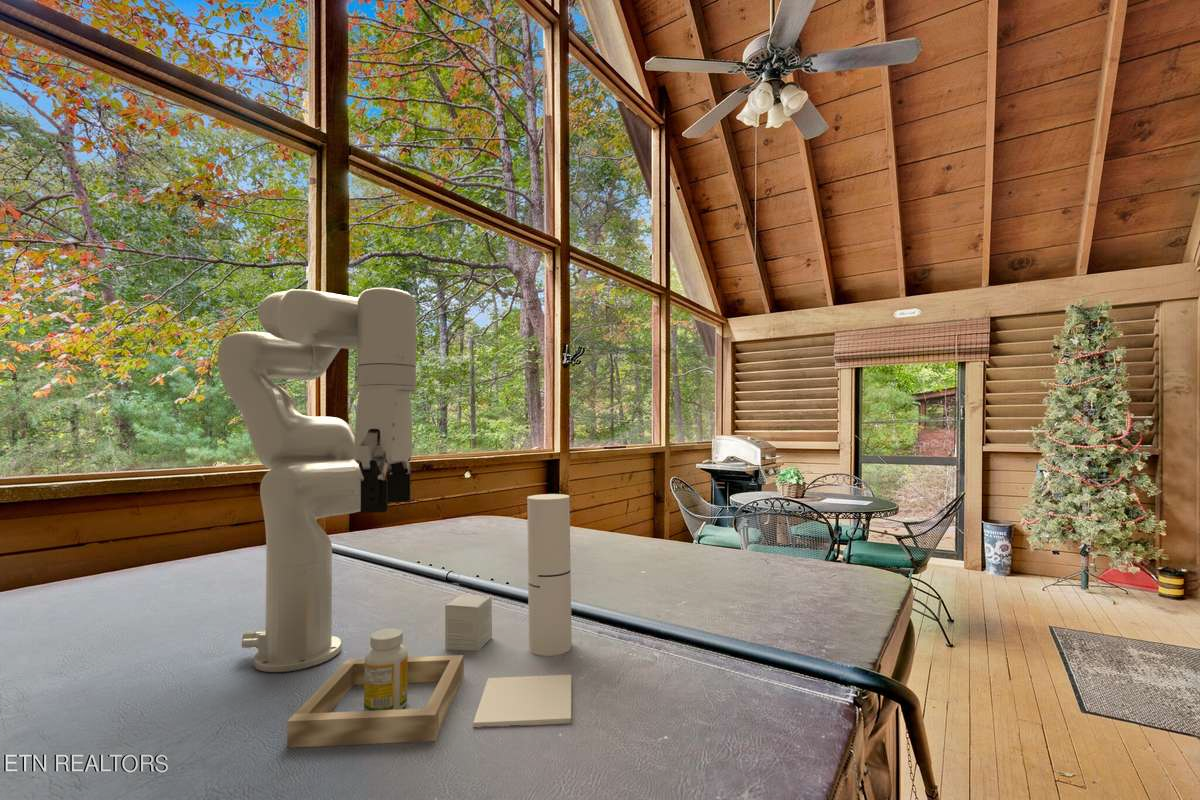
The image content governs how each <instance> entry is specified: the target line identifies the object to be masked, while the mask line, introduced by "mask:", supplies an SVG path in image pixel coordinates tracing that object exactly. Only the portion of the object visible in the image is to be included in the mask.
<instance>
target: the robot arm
mask: <svg viewBox="0 0 1200 800" xmlns="http://www.w3.org/2000/svg"><path fill="white" fill-rule="evenodd" d="M257 319H258V322H259V323H260V326H261V327H262V328H263V329H264V330H265V331H266V332H262V331H241V332H235V333H232V334H229V335H227V336H226V337H224V338H223V339H222V341H221V342H220V344H219V346H218V349H217V370H218V374H219V378H220V380H221V384H222V385H223V388H224V390H225V391H226V394H227V395H228V396H229V398H230V399H231V400H232V402H233V403H234V405H235V406H236V407H237V409H238V410H239V412H240V413H241V415H242V417H243V421H244V423H245V426H246V429H247V431H248V434H249V437H250V441H251V444H252V447H253V450H254V451H255V454H256V457H257V458H258V460H259V462H260V463H261V464H262V465H263V466H264V467H266V468H267V469H269V470H268V471H267V472H266V473H265V474H264V476H263V477H262V479H261V482H260V486H259V489H260V492H259V495H260V502H261V507H262V513H263V518H264V519H263V520H264V526H265V542H266V548H265V549H266V550H265V551H266V552H265V553H266V556H265V558H266V559H265V562H266V563H265V564H266V566H265V567H266V568H265V570H266V571H265V574H266V575H265V628H264V630H263V631H258V630H248V631H247V630H246V631H244V633H243V635H242V638H241V640H242V641H241V648H242V649H250V648H256V649H257V652H256V653H255V655H254V657H253V667H254V668H255V669H256V670H258V671H260V672H261V671H262V672H266V673H284V672H286V673H287V672H294V671H298V670H303V669H308V668H311V667H314V666H317V665H320V664H323V663H325V662H327V661H330V660H331V659H333V658H334V657H336V656H337V655H338V654H340V652H341V651H342V648H343V647H342V645H343V644H342V640H341V639H340V638H339V637H337V636H335V635H332V633H333V632H332V619H333V617H332V616H333V614H332V613H333V612H332V611H333V610H332V607H333V606H332V605H333V603H332V602H333V601H332V600H333V599H332V598H333V595H332V594H333V591H332V590H333V545H332V542H331V539H330V537H329V535H328V534H327V533H326V531H324V529H323V528H322V527H321V526H320V524H319V523H318V521H317V520H318V519H322V518H326V517H333V516H335V517H336V516H341V515H347V514H355V513H358V512H361V513H362V514H371V513H374V514H376V513H378V514H379V513H386V512H387V511H388V509H389V507H388V506H389V503H408V502H410V500H411V471H412V470H411V465H410V461H411V457H412V453H413V417H412V415H413V414H412V403H411V393H414V392H417V303H416V299H415V297H414V296H413V295H412V294H410V293H409V292H407V291H406V290H405V291H404V290H403V289H397V288H390V287H372V288H368V289H365V290H363V291H362V292H361V293H360V294H359V295H358V297H356V296H350V295H349V296H348V295H346V294H345V295H343V294H337V293H333V292H327V291H319V290H312V289H295V288H294V289H292V288H291V289H289V290H287V291H277V292H274V293H271V294H270V295H267V297H265V298H264V299H263V300H262V301H261V302H260V303H259V306H258V308H257ZM341 349H347V350H348V349H349V350H353V351H354V350H355V351H357V356H356V358H357V360H356V361H357V363H356V364H357V366H356V368H357V376H356V377H357V379H356V380H357V387H356V389H357V390H356V391H357V392H358V396H357V405H356V412H355V413H356V414H355V423H354V424H355V425H354V427H355V429H354V430H353V428H352V426H351V425H350V424H349V423H348V422H346V421H345V420H344V419H342V418H339V417H335V416H334V417H333V416H309V415H303V414H302V413H300V411H299V409H298V407H297V403H296V402H295V400H294V398H293V397H292V396H291V395H290V393H288V391H286V390H285V389H284V388H283V387H281V386H280V385H278V384H276V383H275V382H274V381H273V380H271V379H276V380H278V379H279V380H294V381H295V380H296V381H297V380H298V381H312V380H316V379H318V378H320V377H322V376H323V375H324V373H325V372H326V371H327V369H328V368H329V366H330V365H331V363H332V362H333V360H335V357H336V356H337V354H338V353H339V351H340V350H341ZM387 471H388V472H387ZM387 473H389V474H387ZM385 478H386V479H385Z"/></svg>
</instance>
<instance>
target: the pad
mask: <svg viewBox="0 0 1200 800" xmlns="http://www.w3.org/2000/svg"><path fill="white" fill-rule="evenodd" d="M560 724H561V725H562V724H565V725H566V724H572V674H557V675H556V674H555V675H554V674H552V675H533V676H532V675H531V676H527V675H526V676H508V677H507V676H506V677H505V676H504V677H488V678H487V680H486V683H485V687H484V689H483V693H482V696H481V698H480V702H479V705H478V708H477V711H476V714H475V717H474V720H473V722H472V725H473V726H472V728H473V727H477V728H479V727H478V726H499V727H503V726H502V725H521V726H536V725H537V726H538V725H539V726H540V725H560Z"/></svg>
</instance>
